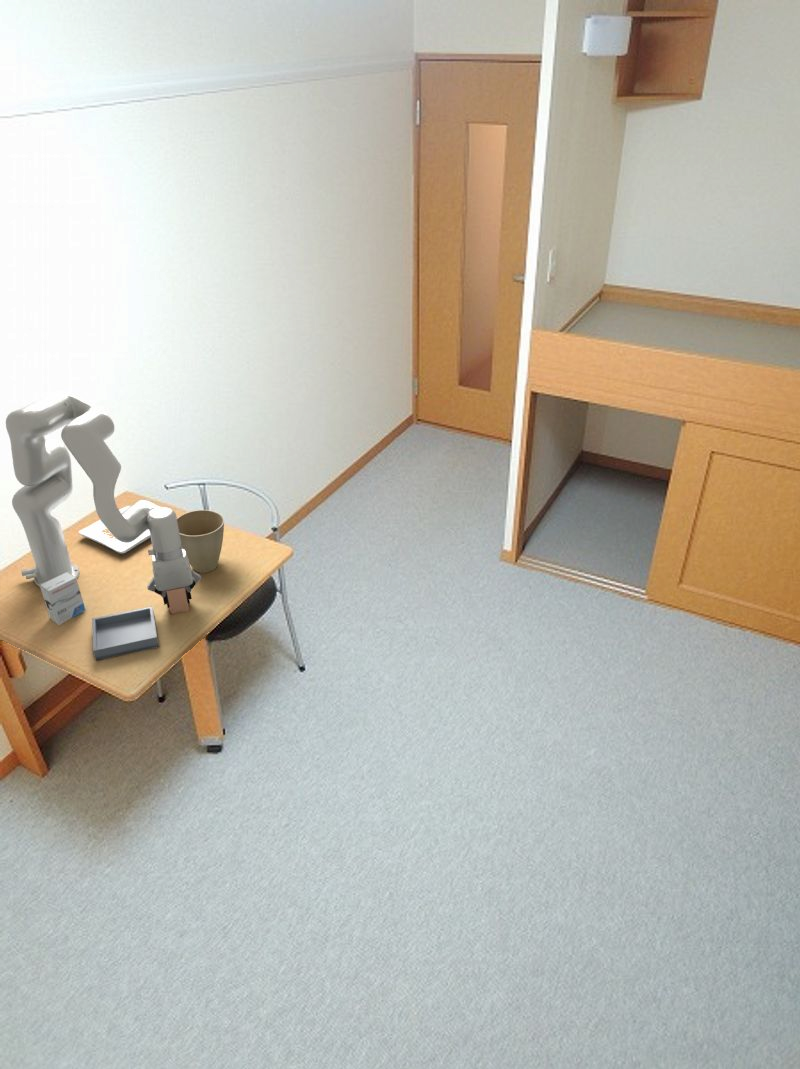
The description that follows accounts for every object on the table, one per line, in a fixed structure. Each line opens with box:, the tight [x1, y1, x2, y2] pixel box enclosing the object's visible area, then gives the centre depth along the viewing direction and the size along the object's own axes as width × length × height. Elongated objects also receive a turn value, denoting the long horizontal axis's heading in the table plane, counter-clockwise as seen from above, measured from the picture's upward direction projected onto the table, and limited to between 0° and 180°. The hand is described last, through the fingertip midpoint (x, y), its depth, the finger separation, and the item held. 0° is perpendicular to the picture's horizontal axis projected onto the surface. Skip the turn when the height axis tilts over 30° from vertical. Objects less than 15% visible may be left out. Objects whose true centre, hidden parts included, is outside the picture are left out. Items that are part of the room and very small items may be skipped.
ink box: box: [39, 572, 86, 625], centre depth 209 cm, size 8×5×12 cm, turn 141°
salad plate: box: [78, 505, 151, 554], centre depth 247 cm, size 21×21×3 cm
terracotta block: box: [166, 587, 190, 615], centre depth 213 cm, size 5×5×8 cm
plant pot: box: [177, 509, 225, 573], centre depth 228 cm, size 15×15×16 cm
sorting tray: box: [91, 605, 160, 661], centre depth 203 cm, size 16×14×4 cm
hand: (178, 602), depth 215 cm, fingers closed on terracotta block, 5 cm apart
